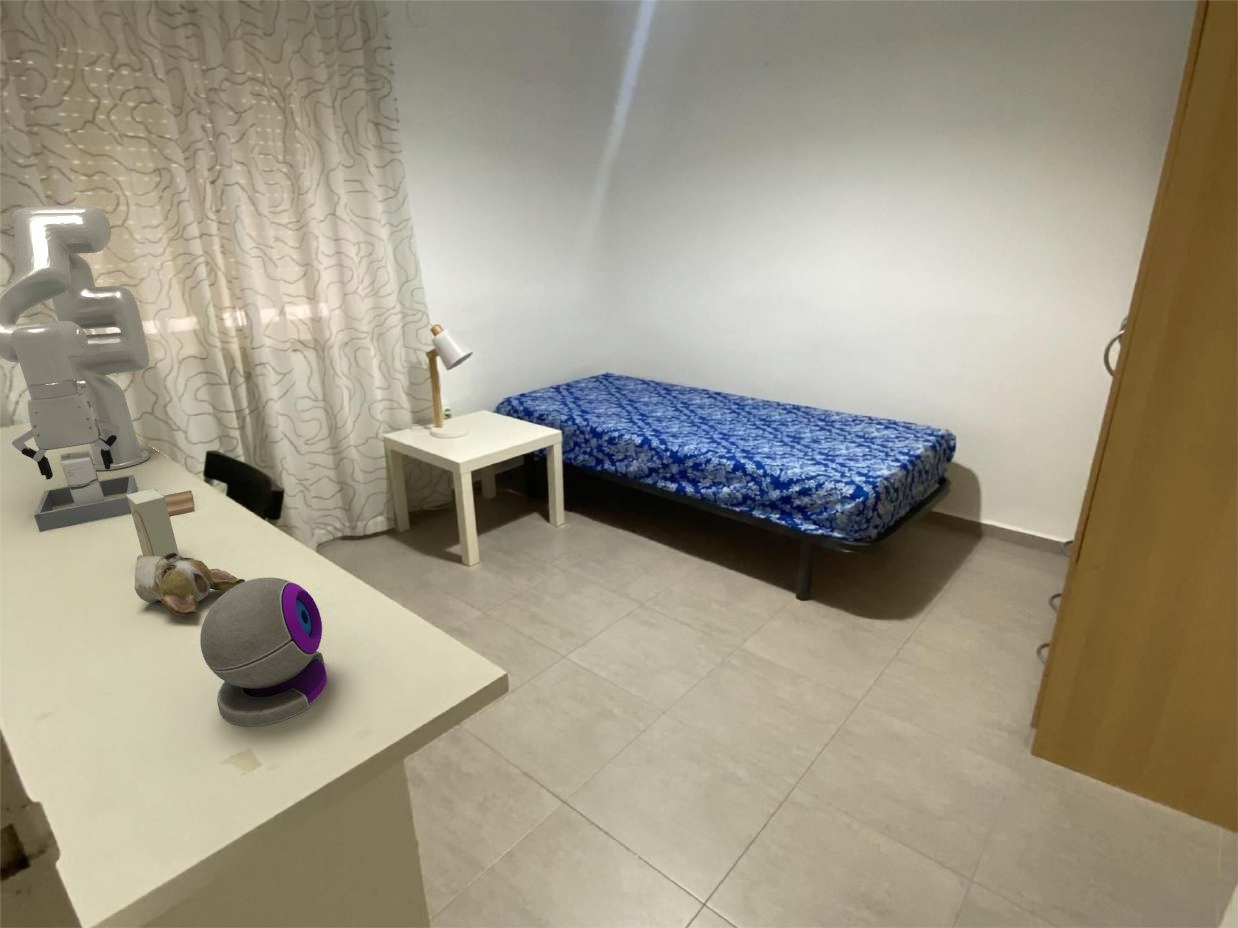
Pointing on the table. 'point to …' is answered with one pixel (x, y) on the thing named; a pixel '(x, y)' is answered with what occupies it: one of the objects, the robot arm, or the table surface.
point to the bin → (86, 512)
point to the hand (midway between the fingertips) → (79, 472)
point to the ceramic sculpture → (178, 581)
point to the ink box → (82, 477)
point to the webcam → (264, 651)
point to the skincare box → (152, 523)
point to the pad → (179, 503)
